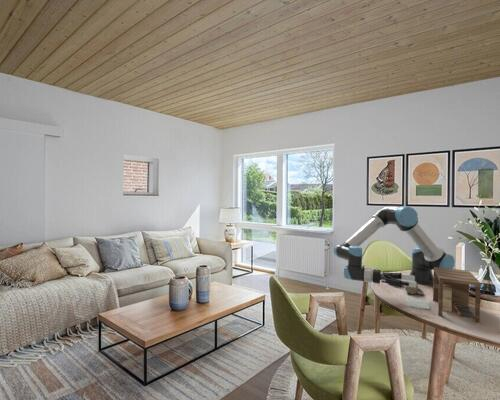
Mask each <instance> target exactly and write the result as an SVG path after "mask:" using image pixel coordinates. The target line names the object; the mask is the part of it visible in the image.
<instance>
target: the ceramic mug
mask: <svg viewBox="0 0 500 400" xmlns="http://www.w3.org/2000/svg"><path fill="white" fill-rule="evenodd" d="M405 281H410V280H405ZM412 282H416V281H412ZM418 286H419V284H418V283H416V288H415V287H408V286H403V287H404V289H405V291H406V292H407V293H408V294H410V295H415V294H419V295H420V296H421V295H422V296H423V295H424V293H425V292H424V290H422V289H421V288H419V287H418Z"/></svg>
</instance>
